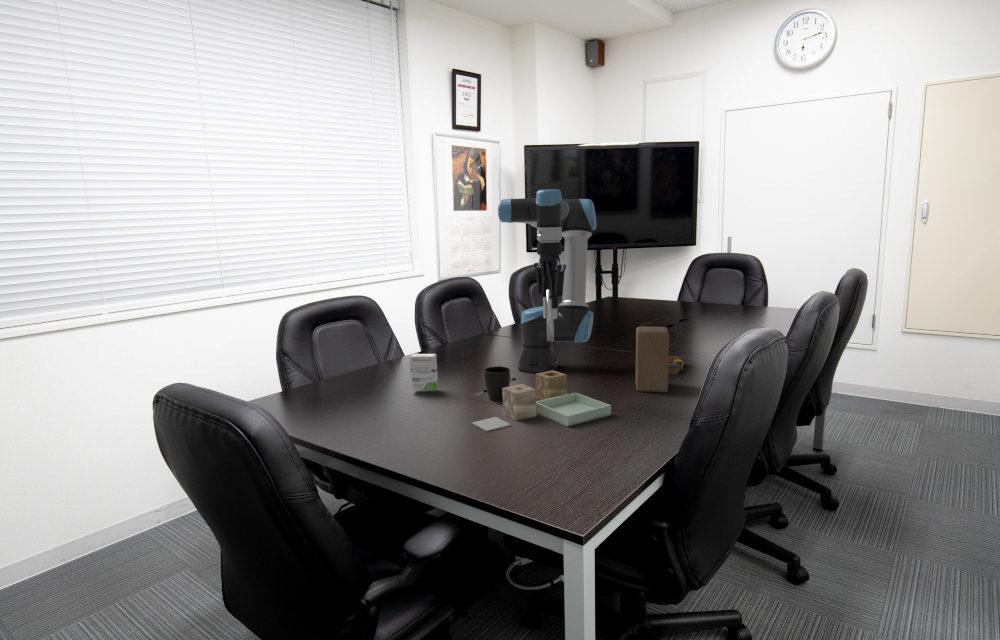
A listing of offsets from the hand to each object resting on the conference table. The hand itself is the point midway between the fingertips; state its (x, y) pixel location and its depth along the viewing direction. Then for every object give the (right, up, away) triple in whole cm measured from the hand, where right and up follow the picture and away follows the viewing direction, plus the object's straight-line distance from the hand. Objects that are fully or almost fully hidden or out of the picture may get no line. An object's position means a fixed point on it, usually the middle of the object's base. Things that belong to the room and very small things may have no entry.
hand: (550, 318), depth 184 cm
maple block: (-10, -28, -10) cm, 32 cm away
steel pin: (0, -7, +1) cm, 7 cm away
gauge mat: (-18, -30, -18) cm, 39 cm away
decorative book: (+46, -20, +35) cm, 61 cm away
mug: (-16, -26, +8) cm, 31 cm away
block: (+34, -23, +13) cm, 44 cm away
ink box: (-41, -24, +20) cm, 52 cm away
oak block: (+1, -26, +4) cm, 26 cm away
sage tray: (+5, -28, -10) cm, 30 cm away
